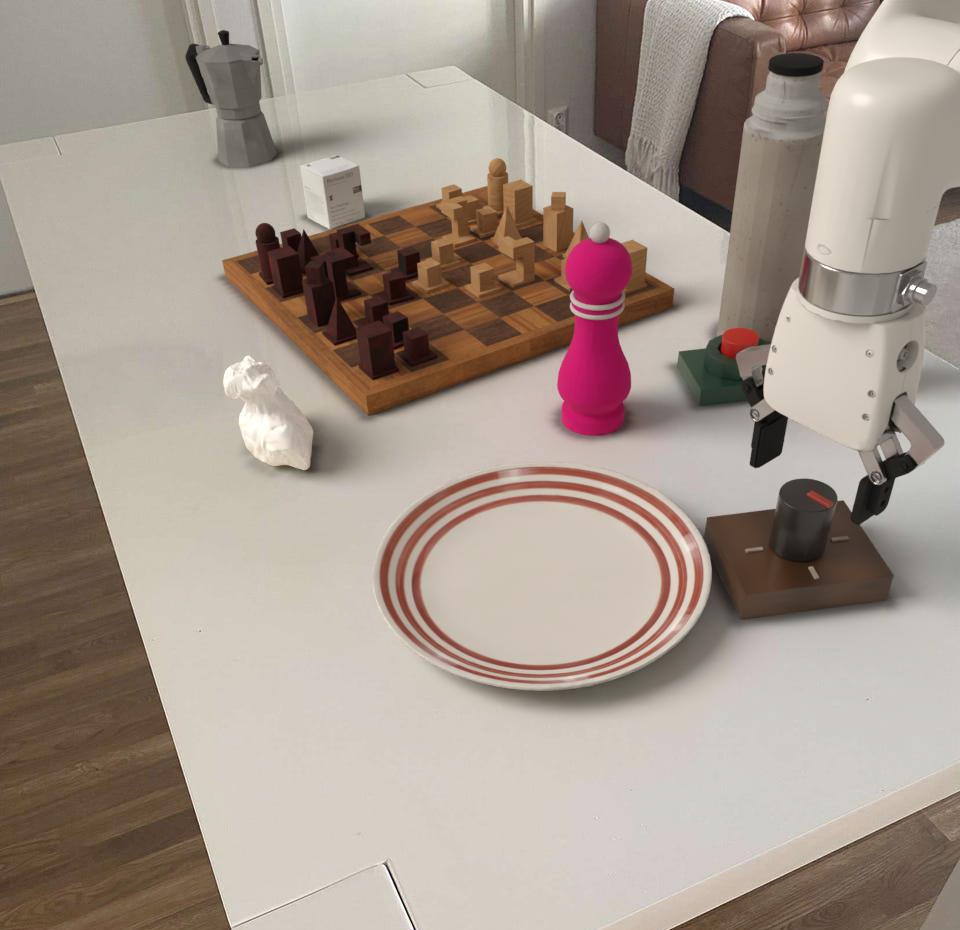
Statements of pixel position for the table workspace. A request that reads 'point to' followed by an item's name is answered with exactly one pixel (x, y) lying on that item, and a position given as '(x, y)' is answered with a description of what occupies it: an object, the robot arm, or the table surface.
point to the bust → (268, 416)
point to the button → (738, 341)
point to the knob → (802, 519)
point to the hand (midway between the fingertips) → (813, 487)
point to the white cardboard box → (333, 191)
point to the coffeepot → (233, 100)
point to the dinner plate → (542, 576)
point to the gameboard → (430, 290)
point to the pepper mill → (596, 336)
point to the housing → (712, 374)
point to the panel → (794, 566)
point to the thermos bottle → (773, 194)
